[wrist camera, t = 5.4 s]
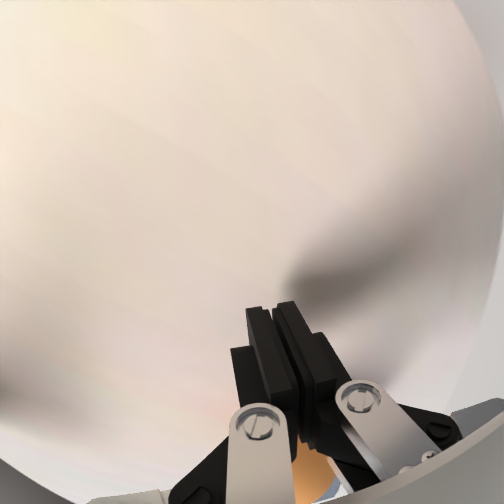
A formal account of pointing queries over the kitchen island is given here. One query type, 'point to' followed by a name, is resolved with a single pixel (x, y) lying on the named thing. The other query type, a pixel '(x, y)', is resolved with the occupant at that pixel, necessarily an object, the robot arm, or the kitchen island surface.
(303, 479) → the ball
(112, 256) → the kitchen island surface
